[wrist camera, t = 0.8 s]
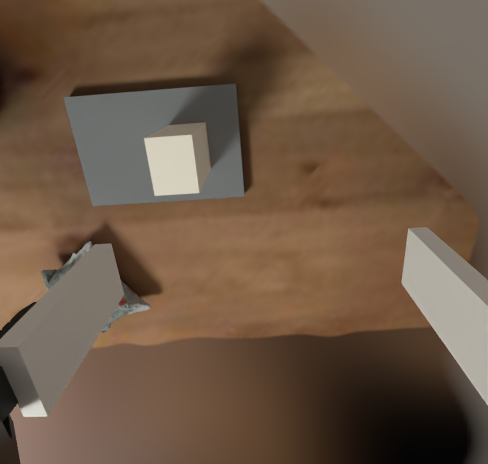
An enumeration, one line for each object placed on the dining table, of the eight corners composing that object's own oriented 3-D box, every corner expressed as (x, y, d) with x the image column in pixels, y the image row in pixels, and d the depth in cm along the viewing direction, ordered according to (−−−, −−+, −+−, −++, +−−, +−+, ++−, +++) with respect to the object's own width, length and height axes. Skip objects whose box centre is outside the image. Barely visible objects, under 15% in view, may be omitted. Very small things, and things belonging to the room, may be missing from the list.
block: (175, 171, 39) (154, 195, 30) (168, 124, 37) (143, 138, 28) (211, 168, 38) (199, 193, 30) (205, 122, 36) (191, 134, 28)
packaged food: (97, 232, 44) (79, 251, 39) (155, 299, 48) (144, 323, 43) (49, 263, 46) (26, 284, 41) (108, 324, 50) (93, 349, 45)
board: (96, 202, 42) (92, 206, 41) (69, 96, 37) (63, 97, 36) (244, 193, 41) (244, 196, 40) (236, 83, 36) (235, 83, 35)
